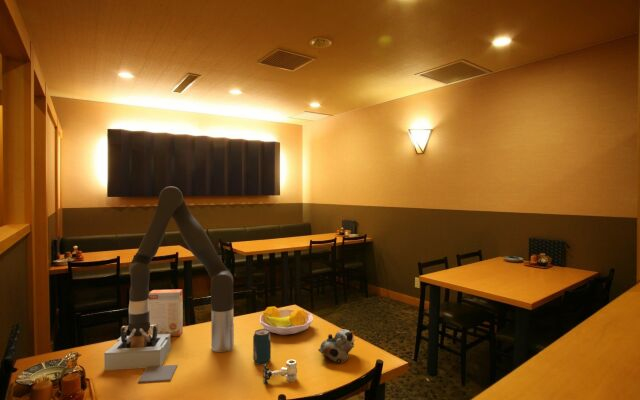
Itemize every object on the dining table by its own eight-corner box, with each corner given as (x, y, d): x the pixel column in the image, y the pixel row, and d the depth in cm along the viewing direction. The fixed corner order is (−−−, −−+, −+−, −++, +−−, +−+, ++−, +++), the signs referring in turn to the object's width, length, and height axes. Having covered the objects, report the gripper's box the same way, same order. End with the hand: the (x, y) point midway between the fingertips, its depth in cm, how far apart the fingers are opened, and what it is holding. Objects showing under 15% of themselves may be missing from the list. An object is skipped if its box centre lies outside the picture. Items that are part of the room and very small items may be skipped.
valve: (295, 374, 136) (263, 378, 133) (295, 357, 136) (263, 360, 133) (298, 383, 130) (265, 388, 127) (299, 365, 130) (265, 369, 127)
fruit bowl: (290, 316, 199) (290, 295, 199) (324, 330, 179) (324, 307, 179) (245, 329, 180) (245, 306, 180) (277, 346, 160) (277, 321, 160)
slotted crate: (170, 349, 157) (170, 333, 157) (160, 366, 141) (160, 349, 141) (120, 351, 154) (120, 336, 154) (104, 370, 138) (104, 353, 138)
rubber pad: (177, 366, 142) (177, 364, 142) (170, 380, 131) (170, 379, 131) (147, 368, 140) (147, 366, 140) (137, 383, 129) (137, 381, 129)
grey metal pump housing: (323, 347, 159) (338, 319, 161) (347, 363, 155) (362, 333, 156) (313, 352, 145) (329, 320, 147) (339, 369, 141) (355, 336, 142)
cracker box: (183, 331, 177) (183, 288, 176) (179, 336, 171) (179, 292, 170) (153, 332, 175) (152, 289, 175) (148, 337, 169) (148, 292, 169)
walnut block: (148, 351, 150) (147, 331, 150) (144, 356, 146) (144, 336, 145) (135, 351, 150) (135, 332, 149) (130, 357, 145) (130, 337, 145)
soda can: (273, 359, 148) (273, 329, 148) (265, 366, 142) (265, 336, 142) (258, 356, 151) (258, 327, 150) (249, 363, 144) (250, 333, 144)
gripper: (160, 306, 152) (160, 346, 152) (123, 308, 150) (123, 348, 150) (155, 312, 145) (155, 354, 145) (116, 314, 142) (116, 356, 143)
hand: (139, 351), depth 148 cm, fingers open, 6 cm apart
